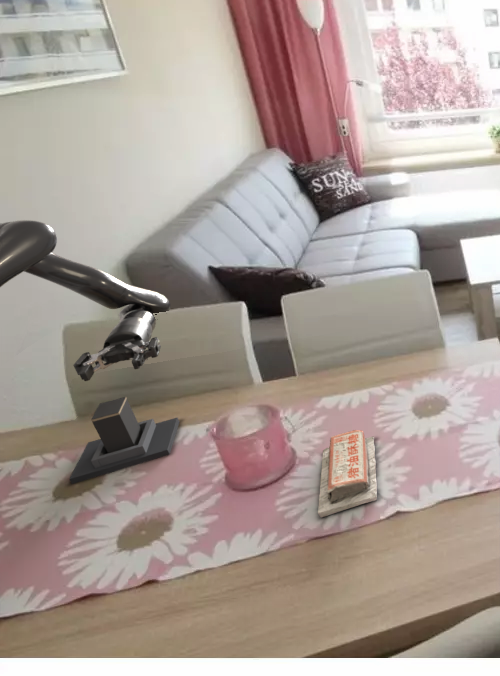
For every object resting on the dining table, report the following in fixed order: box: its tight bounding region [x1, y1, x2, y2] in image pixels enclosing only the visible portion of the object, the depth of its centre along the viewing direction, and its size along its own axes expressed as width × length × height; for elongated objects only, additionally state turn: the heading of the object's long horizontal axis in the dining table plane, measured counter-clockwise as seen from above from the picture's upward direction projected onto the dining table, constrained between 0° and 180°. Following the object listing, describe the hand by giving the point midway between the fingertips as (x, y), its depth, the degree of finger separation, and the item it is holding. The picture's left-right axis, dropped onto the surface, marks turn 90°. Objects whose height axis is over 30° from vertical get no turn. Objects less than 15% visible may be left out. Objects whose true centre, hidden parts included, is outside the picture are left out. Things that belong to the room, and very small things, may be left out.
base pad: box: [68, 417, 180, 485], centre depth 114 cm, size 16×12×4 cm
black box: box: [90, 396, 143, 453], centre depth 112 cm, size 4×6×10 cm
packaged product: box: [317, 429, 378, 518], centre depth 105 cm, size 18×5×10 cm
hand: (110, 371), depth 115 cm, fingers open, 8 cm apart
